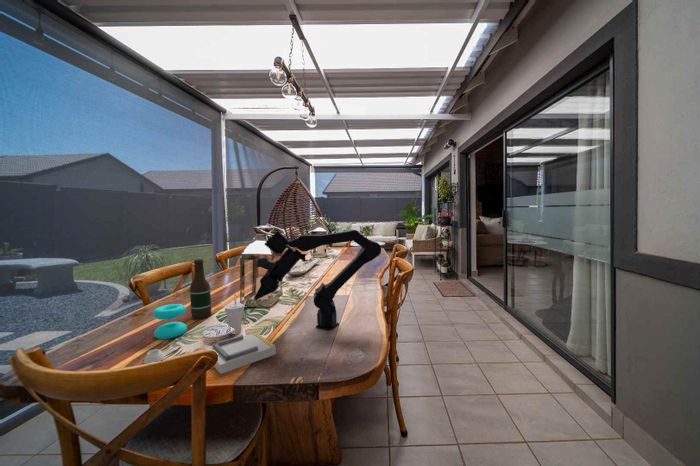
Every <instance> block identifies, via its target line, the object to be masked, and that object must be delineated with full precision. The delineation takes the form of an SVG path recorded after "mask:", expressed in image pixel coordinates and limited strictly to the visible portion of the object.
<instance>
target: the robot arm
mask: <svg viewBox="0 0 700 466" xmlns="http://www.w3.org/2000/svg"><path fill="white" fill-rule="evenodd" d="M346 242H355V244H357V245H358V246H359V247H360V248H359V251H358V252H357V255H355V257H354V258H353V259H352V260H351V261H350V262H349V263H348V264H347V265H346V266H345V267H344V268H343V269H342V270H341V271H340V272H339V273H338V274H337V275H336V276H334V278H333V279H332V280H331V281H329V282H328V283H326V284H325V283H324V282H321V284H320V285H319V286H318V287H317V288H315V289H314V293H313V304H314V306H315V307H316V308H317V313H316V317H317V318H316V322H317V323H316V325H315V328H317V329H323V330H327V331H331V330H333V329H334V328H336V327H337V326H339V324H340V323H339V322H337V321H338V320H337V317H338V316H337V309H336V308H337V307H336V305H335V304H336V303H335V301H334V298H335V296H336V294H337V292H338V291H339V290H340V289H342V287H343V286H344V285H346V283H347V282H348V281H349V280H350V279H352V277H353V276H354V275H355V274H357V272H358V271H359V270H360V269H361V268H362V267H363V266H364V265H366V264H368V263H369V262H371V261H373V260H375V259H376V258H377V257H379V256H380V255H381V253H382V247H381V245H380V243H379V242H376V241H374V240H370V239H368V238H367V237H366V236H364V235H363V234H362V233H360V232H359V231H358V230H356V229H350V230H345V231H340V232H339V231H338V232H332V233H326V234H306V233H305V234H301V235H299V236H298V237H297V238H295V239H290V240H289V239H288V238H286V237H285V236H284V234H282V233H281V231H279V230H277V231H276V232H275V233H273V235H272V236H270V237H269V238H268V239H267V241H266V242H265V243H264V246H266V247H267V249H269V250H270V251H272V252H273V253H274V254H275V255H278V254H280V255H281V254H282V255H281V256H280V258H278V259H276V261H275V260H272V259H270V258H267V257H266V256H262V255H260V256H258V258H257V261H256V264H255V266H256V267H258V268H262V269H264V270H267V271H266V272H265V273H264V275H263V276H262V277H261V278H260V280H259V284H260V287H259V288H258V289H257V291H256V293H255V295H254V297H253V299H254V300H255V301H257V300H260V299H262V298H264V297H265V296H268V295H269V294H272V293H274V292H276V291H277V289H278V288H279V287H280V282H282V281H283V279H284V278H285V277H286V276H287V274H289V273H290V272H291V271H292V269H293V268H294V267H295V266H296V264H297V263H298V262H299V261H300V260H301V261H302V262H304V263H305V262H306V259H307V258H306V256H307V255H306V254H307V253H302V252H308V251H311V250H314V249H316V248H319V247H322V246H327V245H333V244H340V243H346ZM293 248H295V249H293ZM284 251H285V252H284Z"/></svg>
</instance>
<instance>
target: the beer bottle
mask: <svg viewBox="0 0 700 466" xmlns="http://www.w3.org/2000/svg"><path fill="white" fill-rule="evenodd" d="M193 264H194V268H193V269H194V276H193V280H192V282H191V283H190V286H189V297H190V313H191V318H192V320H198V319H199V320H203V319H208V318H209V317H211V316H212V300H211V299H212V298H211V288H210V287H211V285H210V283H209V282H208V280H207V279H206V276H205V271H204V260H203V259H194V260H193Z"/></svg>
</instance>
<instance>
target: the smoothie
mask: <svg viewBox="0 0 700 466" xmlns="http://www.w3.org/2000/svg"><path fill="white" fill-rule="evenodd" d="M233 296H234V297H233V298H234V299H233V300H234V303H230V304H228V305H225V307H224V311H225V315H226V320H227V325H228V327H229V326H230V327H232V328H234V329H235V335H239V334H241V333H242V325H243V323H242V322H243V312H244V311H243V310H244V308H245V307H244V304H243V303H237V294H236V293H234V294H233Z"/></svg>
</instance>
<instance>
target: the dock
mask: <svg viewBox="0 0 700 466" xmlns="http://www.w3.org/2000/svg"><path fill="white" fill-rule="evenodd" d="M205 349H212V350H215V351H216V352H217V353H218V361H217V363H216V365H215V366H213V367H214V369H215V370H216V371H217V372H218V374H220V375H222V374H225V373H227V372H231V371H233V370H236V369H239V368H242V367H244V366H247V365H250V364H253V363H256V362H258V361H261V360H264V359H266V358H270V357H273V356H275V355H277V352H276V351H277V350H276V349H277V348H276V345H275V344H274V343H272V342H271V341H269V339H266V338H265V337H263V336H262V335H261V334H259V333H258V332H252V333H251V334H248V335H242V334H241V335H237V336H235V337H231V338H227V339H224V340H220V341H217V342H213V343H212V344H211V345H209V346H206V347H204V350H205Z"/></svg>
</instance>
